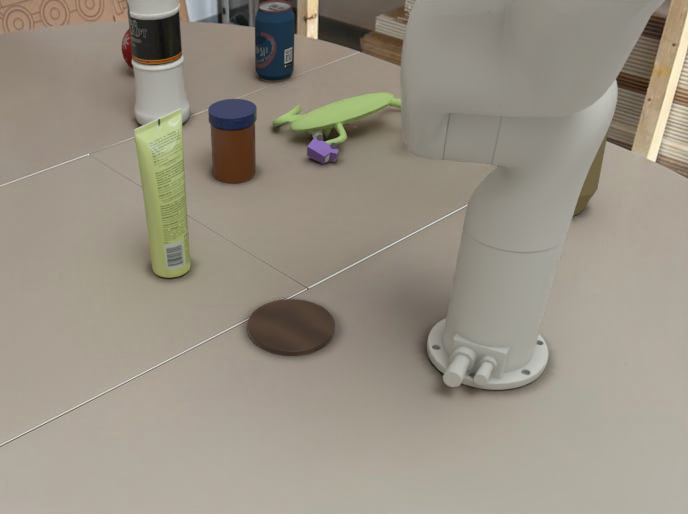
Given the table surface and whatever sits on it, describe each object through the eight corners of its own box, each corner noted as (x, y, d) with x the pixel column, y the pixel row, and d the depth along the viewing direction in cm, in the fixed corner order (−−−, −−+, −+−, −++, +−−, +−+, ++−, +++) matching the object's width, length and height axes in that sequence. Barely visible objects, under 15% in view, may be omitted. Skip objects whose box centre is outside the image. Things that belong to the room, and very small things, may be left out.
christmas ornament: (177, 66, 155) (173, 9, 148) (157, 83, 150) (152, 25, 143) (137, 61, 158) (131, 5, 151) (116, 78, 152) (109, 21, 146)
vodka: (188, 130, 134) (174, -79, 114) (132, 132, 135) (108, -76, 114) (192, 107, 141) (179, -95, 120) (138, 109, 142) (116, -92, 121)
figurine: (461, 158, 123) (467, 121, 119) (283, 171, 122) (284, 135, 118) (429, 107, 136) (434, 73, 132) (269, 119, 136) (269, 85, 132)
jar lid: (242, 133, 114) (242, 122, 113) (199, 125, 116) (199, 114, 115) (264, 114, 118) (264, 103, 117) (223, 106, 121) (222, 95, 120)
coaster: (312, 365, 90) (313, 361, 89) (232, 340, 93) (232, 336, 93) (348, 316, 96) (348, 311, 95) (271, 295, 100) (271, 290, 99)
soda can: (247, 77, 149) (246, 6, 141) (273, 66, 153) (274, -4, 144) (274, 86, 146) (275, 14, 137) (301, 75, 149) (303, 4, 141)
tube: (153, 256, 107) (137, 108, 94) (192, 254, 107) (181, 106, 94) (150, 280, 103) (133, 129, 90) (191, 279, 103) (179, 127, 90)
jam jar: (243, 186, 120) (241, 123, 113) (205, 178, 122) (201, 116, 116) (263, 168, 124) (262, 106, 117) (225, 160, 126) (223, 99, 120)
